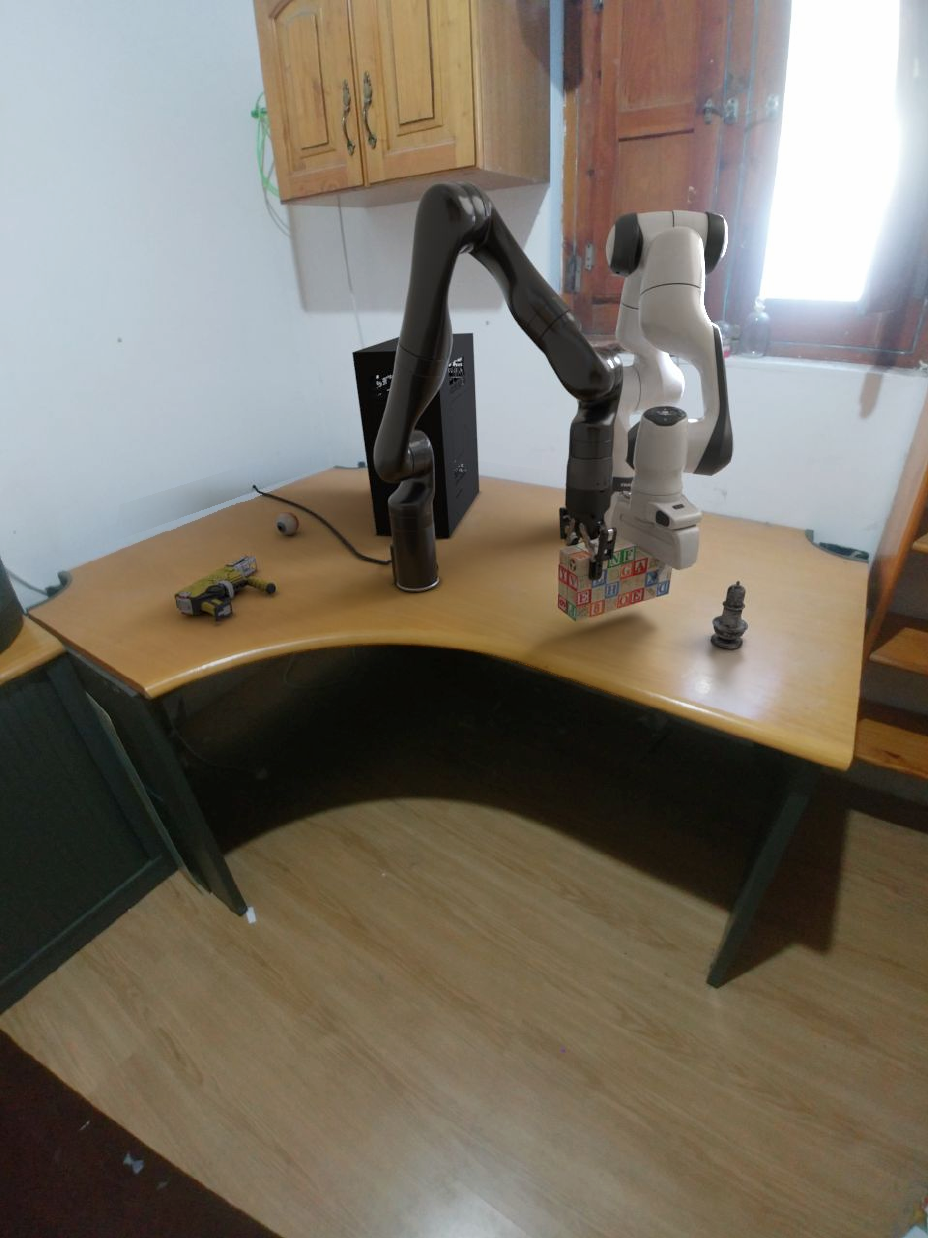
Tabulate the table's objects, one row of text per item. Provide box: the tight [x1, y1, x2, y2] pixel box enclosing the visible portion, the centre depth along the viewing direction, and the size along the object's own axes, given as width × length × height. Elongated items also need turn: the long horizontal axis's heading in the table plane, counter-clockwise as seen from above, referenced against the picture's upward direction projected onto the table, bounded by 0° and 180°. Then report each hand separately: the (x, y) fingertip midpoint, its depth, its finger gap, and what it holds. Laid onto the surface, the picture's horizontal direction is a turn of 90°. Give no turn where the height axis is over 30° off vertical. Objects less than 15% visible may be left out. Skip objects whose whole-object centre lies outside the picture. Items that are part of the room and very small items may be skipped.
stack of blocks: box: [557, 535, 673, 622], centre depth 112 cm, size 21×6×12 cm, turn 115°
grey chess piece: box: [710, 580, 749, 650], centre depth 105 cm, size 6×6×12 cm
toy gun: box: [173, 554, 277, 622], centre depth 133 cm, size 5×24×15 cm
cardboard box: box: [351, 332, 480, 539], centre depth 164 cm, size 38×20×45 cm, turn 167°
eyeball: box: [275, 511, 300, 536], centre depth 163 cm, size 6×6×6 cm
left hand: (583, 571), depth 108 cm, fingers closed on stack of blocks, 6 cm apart
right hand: (647, 572), depth 115 cm, fingers closed on stack of blocks, 6 cm apart
